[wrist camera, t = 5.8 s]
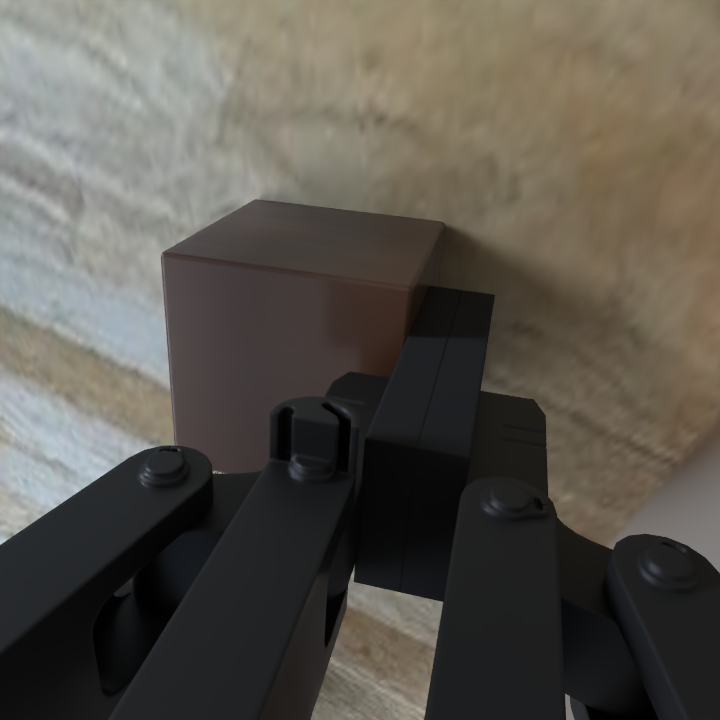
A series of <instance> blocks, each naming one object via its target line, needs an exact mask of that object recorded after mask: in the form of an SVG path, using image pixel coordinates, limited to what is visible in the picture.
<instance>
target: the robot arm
mask: <svg viewBox="0 0 720 720" xmlns="http://www.w3.org/2000/svg"><path fill="white" fill-rule="evenodd" d="M494 297H495V295H493V294H485V293H478V292H471V291H464V290H456V289H449V288H442V287H435V286H429V289H428V291H427V294H426V296H425V298H424V301H423V303H422V305H421V308H420V310H419V312H418V315H417V317H416V320H415V322H414V324H413V327H412V329H411V331H410V334H409V335H408V337H407V340H406V342H405V344H404V347H403V349H402V351H401V354H400V356H399V359H398V361H397V363H396V366H395V368H394V371H393V373H392V375H391V378H388V377H382V376H376V375H369V374H363V373H357V372H351V371H350V372H348V373H346V374H345V375H343V376H341V377H340V378H338V379H336V380H335V381H333V382H332V384H331V386H330V387H329V389H328V391H327V392H326V394H325V397H313V396H308V397H300V398H293V399H290V400H287V401H285V402H282V403H280V404H278V405H277V406H276V407H275V408H273V409H272V410H271V411H270V460H269V461H268V463H267V464H266V466H265V468H264V469H263V470H261V471H257V472H250V473H236V474H213V472H212V464H211V462H210V461H209V459H208V457H207V456H206V455H204V454H203V453H201V452H199V451H198V450H196V449H193V448H189V447H184V446H159V447H155V448H151V449H146V450H144V451H142V452H140V453H137V454H135V455H133V456H131V457H130V458H128V459H127V460H125V461H124V462H122V463H121V464H119V465H118V466H116V467H115V468H113V469H112V470H110V471H109V472H107V473H106V474H104V475H103V476H101V477H100V478H99V479H97V480H96V481H94V482H93V483H91V484H90V485H88V486H87V487H85V488H84V489H82V490H81V491H79V492H78V493H76V494H75V495H73V496H72V497H70V498H69V499H68V500H66V501H65V502H63V503H62V504H60V505H59V506H57V507H56V508H54V509H53V510H51V511H50V512H48V513H47V514H45V515H44V516H42V517H41V518H39V519H38V520H37V521H35V522H34V523H32V524H31V525H29V526H28V527H26V528H25V529H23V530H22V531H20V532H19V533H17V534H16V535H14V536H13V537H11V538H10V539H8V540H7V541H6V542H4V543H3V544H1V545H0V720H310V719H311V715H312V712H313V709H314V706H315V703H316V700H317V697H318V694H319V691H320V688H321V685H322V682H323V679H324V675H325V672H326V669H327V666H328V663H329V660H330V657H331V654H332V651H333V648H334V645H335V642H336V639H337V635H338V632H339V629H340V626H341V623H342V620H343V617H344V614H345V611H346V607H347V594H348V583H349V580H350V577H351V574H352V571H353V568H354V565H355V574H354V582H357V583H361V584H366V585H370V586H375V587H379V588H384V589H388V590H393V591H397V592H402V593H406V594H411V595H415V596H420V597H424V598H429V599H433V600H438V601H442V602H443V608H442V614H441V620H440V626H439V632H438V639H437V645H436V651H435V657H434V663H433V669H432V675H431V682H430V688H429V694H428V700H427V706H426V712H425V718H424V720H566V711H565V710H566V708H565V694H567V695H569V696H570V703H571V709H572V712H573V715H574V719H575V720H720V573H719V572H718V571H717V570H716V569H715V568H714V567H713V565H712V564H711V563H710V562H709V561H708V560H707V559H706V558H705V557H703V556H702V555H700V554H699V553H697V552H696V551H694V550H693V549H691V548H690V547H688V546H687V545H684V544H682V543H679V542H677V541H674V540H672V539H669V538H667V537H661V536H655V535H649V534H640V535H631V536H628V537H626V538H624V539H622V540H620V541H618V542H617V543H616V545H615V547H614V549H613V550H612V549H609V548H607V547H605V546H602V545H600V544H598V543H595V542H593V541H590V540H589V539H587V538H585V537H583V536H581V535H579V534H577V533H575V532H574V531H572V530H571V529H570V528H568V527H567V526H565V525H564V524H563V523H562V522H561V521H560V520H559V519H558V518H557V513H556V510H555V507H554V505H553V502H552V501H551V500H550V499H549V498H548V479H547V448H546V415H545V414H544V413H543V411H542V410H541V409H540V407H539V406H538V405H537V403H536V402H535V401H534V400H533V399H527V398H521V397H515V396H509V395H503V394H497V393H491V392H485V391H480V389H481V382H482V376H483V369H484V363H485V356H486V349H487V343H488V336H489V330H490V323H491V316H492V310H493V303H494Z"/></svg>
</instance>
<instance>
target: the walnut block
mask: <svg viewBox="0 0 720 720" xmlns="http://www.w3.org/2000/svg"><path fill="white" fill-rule="evenodd" d="M444 228H445V225H444V223H443V222H439V221H431V220H423V219H415V218H406V217H398V216H390V215H381V214H373V213H365V212H357V211H348V210H340V209H332V208H324V207H315V206H307V205H299V204H291V203H282V202H274V201H266V200H257V199H256V200H253V201H251V202H250V203H248V204H246V205H244V206H243V207H241V208H239V209H237V210H236V211H234V212H232V213H230V214H229V215H227V216H225V217H223V218H222V219H220V220H218V221H216V222H215V223H213V224H211V225H209V226H208V227H206V228H204V229H202V230H201V231H199V232H197V233H196V234H194V235H192V236H190V237H189V238H187V239H185V240H183V241H182V242H180V243H178V244H176V245H175V246H173V247H171V248H169V249H168V250H166V251H164V252H162V255H161V264H162V278H163V291H164V305H165V318H166V332H167V345H168V359H169V372H170V386H171V399H172V413H173V426H174V439H175V446H184V447H189V448H193V449H196V450H198V451H199V452H201V453H203V454H204V455H206V456H207V457H208V459H209V461H210V462H211V464H212V470H213V471H218V472H223V473H228V474H236V473H250V472H257V471H261V470H263V469H264V468H265V466H266V464H267V463H268V461H269V460H270V411H271V410H272V409H273V408H275V407H276V406H277V405H278V404H280V403H282V402H285V401H287V400H290V399H293V398H300V397H308V396H313V397H325V394H326V392H327V391H328V389H329V387H330V386H331V384H332V382H333V381H335V380H336V379H338V378H340V377H341V376H343V375H345V374H346V373H348V372H350V371H351V372H357V373H363V374H369V375H376V376H382V377H388V378H391V375H392V373H393V371H394V368H395V366H396V363H397V361H398V359H399V356H400V354H401V351H402V349H403V347H404V344H405V342H406V340H407V337H408V335H409V334H410V331H411V329H412V327H413V324H414V322H415V320H416V317H417V315H418V312H419V310H420V308H421V305H422V303H423V301H424V298H425V296H426V294H427V291H428V289H429V286H435V287H437V286H438V278H439V270H440V262H441V253H442V245H443V237H444Z"/></svg>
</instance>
